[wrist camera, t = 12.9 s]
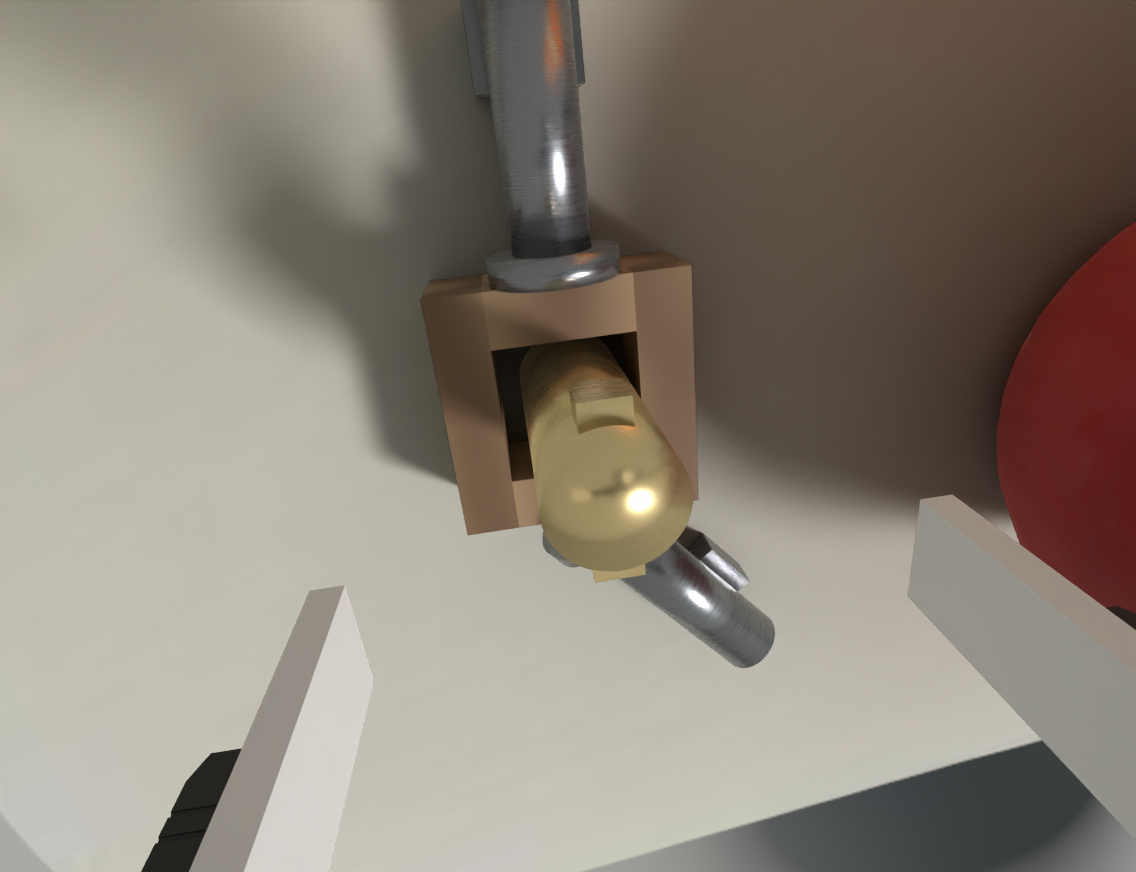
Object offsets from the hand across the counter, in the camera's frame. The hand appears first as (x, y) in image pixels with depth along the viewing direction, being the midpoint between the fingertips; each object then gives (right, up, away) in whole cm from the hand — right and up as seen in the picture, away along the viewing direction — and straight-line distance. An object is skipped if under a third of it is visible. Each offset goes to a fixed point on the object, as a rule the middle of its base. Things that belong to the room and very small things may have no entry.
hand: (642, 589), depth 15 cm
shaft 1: (-3, +15, +10) cm, 19 cm away
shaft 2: (+3, -2, +19) cm, 19 cm away
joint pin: (-2, +6, +14) cm, 16 cm away
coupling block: (-2, +6, +14) cm, 16 cm away
